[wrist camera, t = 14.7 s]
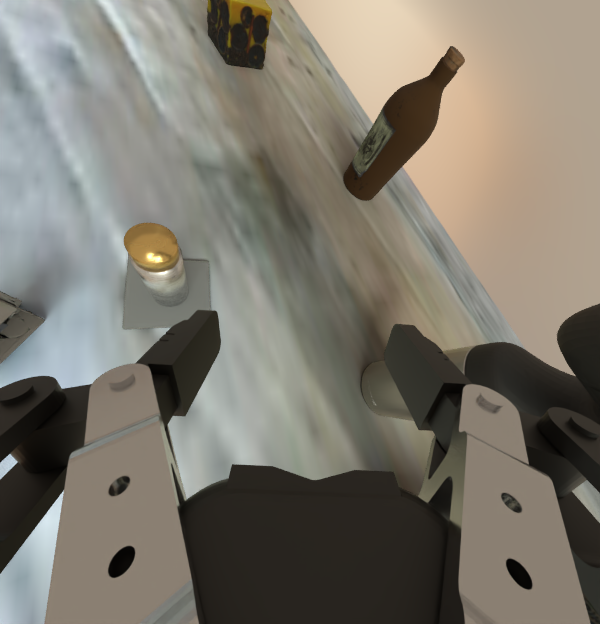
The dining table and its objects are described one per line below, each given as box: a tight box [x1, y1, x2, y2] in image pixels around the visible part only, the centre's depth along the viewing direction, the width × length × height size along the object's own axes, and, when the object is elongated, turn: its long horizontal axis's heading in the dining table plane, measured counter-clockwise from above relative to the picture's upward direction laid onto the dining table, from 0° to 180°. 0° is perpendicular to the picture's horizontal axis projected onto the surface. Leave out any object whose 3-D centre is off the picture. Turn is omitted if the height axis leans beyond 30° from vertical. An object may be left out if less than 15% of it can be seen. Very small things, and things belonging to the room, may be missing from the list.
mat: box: [123, 257, 210, 329], centre depth 30 cm, size 10×10×1 cm
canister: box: [124, 223, 188, 307], centre depth 25 cm, size 4×4×12 cm
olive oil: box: [344, 46, 465, 200], centre depth 44 cm, size 11×11×25 cm
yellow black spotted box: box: [207, 0, 272, 69], centre depth 49 cm, size 10×10×10 cm
